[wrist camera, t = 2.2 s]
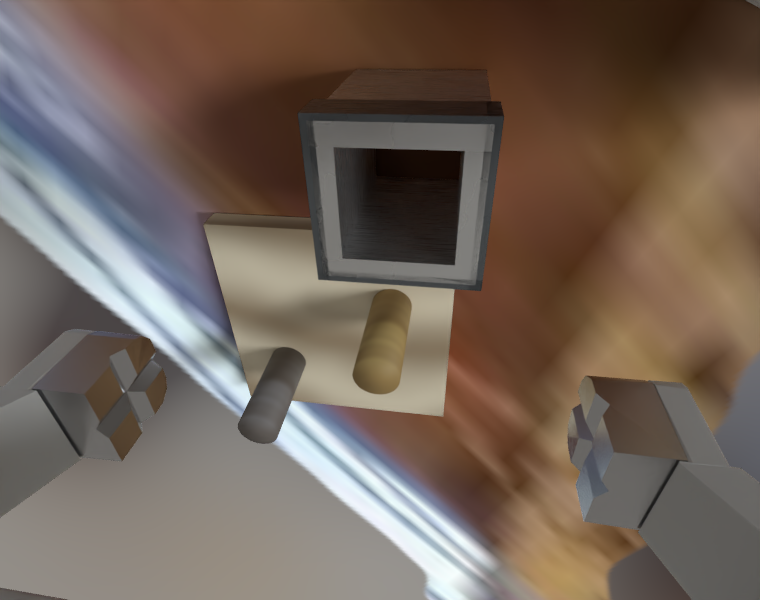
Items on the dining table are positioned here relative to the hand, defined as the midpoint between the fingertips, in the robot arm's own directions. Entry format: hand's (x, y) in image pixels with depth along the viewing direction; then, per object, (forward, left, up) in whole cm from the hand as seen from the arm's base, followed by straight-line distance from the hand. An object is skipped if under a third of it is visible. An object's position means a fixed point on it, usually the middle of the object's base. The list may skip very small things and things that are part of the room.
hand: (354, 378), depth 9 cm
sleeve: (0, 0, -14) cm, 14 cm away
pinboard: (+10, -4, -14) cm, 17 cm away
